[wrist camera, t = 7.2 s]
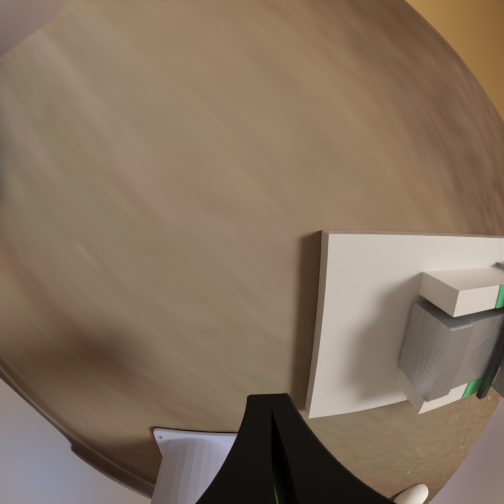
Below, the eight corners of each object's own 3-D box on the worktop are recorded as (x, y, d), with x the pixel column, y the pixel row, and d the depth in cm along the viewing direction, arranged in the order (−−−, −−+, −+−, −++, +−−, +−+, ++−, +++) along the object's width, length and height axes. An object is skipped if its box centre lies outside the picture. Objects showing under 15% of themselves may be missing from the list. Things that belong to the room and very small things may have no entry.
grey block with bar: (488, 268, 16) (528, 285, 11) (461, 366, 18) (489, 394, 13) (418, 272, 16) (463, 297, 11) (391, 386, 18) (417, 425, 13)
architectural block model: (509, 236, 17) (582, 259, 8) (477, 365, 20) (527, 411, 11) (321, 230, 17) (403, 274, 7) (305, 405, 20) (330, 501, 10)
